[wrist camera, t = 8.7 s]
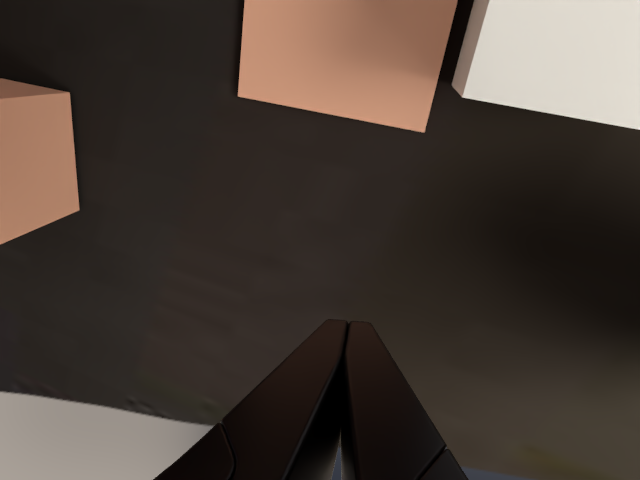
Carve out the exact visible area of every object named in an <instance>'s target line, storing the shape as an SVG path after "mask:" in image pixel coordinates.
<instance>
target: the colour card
mask: <svg viewBox="0 0 640 480" xmlns="http://www.w3.org/2000/svg"><path fill="white" fill-rule="evenodd" d="M457 1H458V0H245V3H244V17H243V31H242V45H241V59H240V72H239V86H238V97H243V98H248V99H254V100H259V101H264V102H269V103H274V104H279V105H284V106H290V107H295V108H300V109H305V110H310V111H315V112H320V113H326V114H331V115H336V116H341V117H346V118H351V119H356V120H362V121H367V122H372V123H377V124H382V125H387V126H392V127H398V128H403V129H408V130H413V131H418V132H423V133H424V132H425V129H426V125H427V121H428V117H429V113H430V109H431V105H432V101H433V97H434V93H435V89H436V85H437V81H438V77H439V73H440V69H441V65H442V61H443V57H444V53H445V49H446V45H447V41H448V37H449V33H450V29H451V25H452V21H453V17H454V13H455V9H456V5H457Z"/></svg>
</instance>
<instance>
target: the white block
mask: <svg viewBox="0 0 640 480" xmlns="http://www.w3.org/2000/svg"><path fill="white" fill-rule="evenodd" d="M452 86H453V88H454V89H455V90H456V91H457V92H458V93H459V94H460V95H461V97H463V98H468V99H474V100H479V101H485V102H490V103H496V104H501V105H506V106H512V107H517V108H523V109H528V110H534V111H539V112H545V113H550V114H556V115H561V116H567V117H572V118H578V119H583V120H589V121H594V122H600V123H605V124H611V125H616V126H622V127H627V128H633V129H638V130H640V0H474V2H473V6H472V10H471V14H470V17H469V21H468V25H467V29H466V32H465V36H464V40H463V44H462V47H461V51H460V55H459V59H458V62H457V66H456V70H455V74H454V77H453V81H452Z"/></svg>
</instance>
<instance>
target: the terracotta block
mask: <svg viewBox="0 0 640 480" xmlns="http://www.w3.org/2000/svg"><path fill="white" fill-rule="evenodd" d="M76 211H79V198H78V186H77V174H76V162H75V150H74V138H73V126H72V114H71V102H70V92H65V91H60V90H55V89H50V88H46V87H41V86H36V85H31V84H26V83H21V82H16V81H11V80H7V79H2V78H0V244H3V243H5V242H7V241H10V240H12V239H14V238H16V237H19V236H21V235H23V234H26V233H28V232H30V231H33V230H35V229H37V228H39V227H42V226H44V225H46V224H49V223H51V222H53V221H56V220H58V219H60V218H63V217H65V216H67V215H69V214H72V213H74V212H76Z"/></svg>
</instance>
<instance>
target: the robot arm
mask: <svg viewBox="0 0 640 480" xmlns="http://www.w3.org/2000/svg"><path fill="white" fill-rule="evenodd" d="M340 433H341V472H342V480H468V478H467V477H466V475H465V474H464V472H463V471H462V469H461V467H460V466H459V464H458V462H457V461H456V459H455V458H454V456H453V454H452V453H451V451H450V450H449V449H447V445H446V443H445V442H444V440H443V439H442V437H441V435H440V434H439V432H438V431H437V429H436V427H435V426H434V424H433V422H432V421H431V419H430V418H429V416H428V414H427V413H426V411H425V410H424V408H423V406H422V405H421V403H420V401H419V400H418V398H417V397H416V395H415V393H414V392H413V390H412V389H411V387H410V385H409V384H408V382H407V381H406V379H405V377H404V376H403V374H402V372H401V371H400V369H399V368H398V366H397V364H396V363H395V361H394V360H393V358H392V356H391V355H390V353H389V351H388V350H387V348H386V347H385V345H384V343H383V342H382V340H381V339H380V337H379V335H378V334H377V332H376V331H375V329H374V327H373V326H372V324H371V323H369V322H359V321H351V322H350V323H349V324H348V322H347V321H345V320H334V319H328V320H326V321H325V322H324V323H323V324H322V325H321V326H320V327H319V328H318V329H317V330H315V331H314V332H313V333H312V334H311V335H310V336H309V337H308V338H307V339H306V340H305V341H304V342H303V343H302V344H301V345H300V346H299V347H298V348H296V349H295V350H294V351H293V352H292V353H291V354H290V355H289V356H288V357H287V358H286V359H285V360H284V361H283V362H282V363H281V364H280V365H279V366H278V367H276V368H275V369H274V370H273V371H272V372H271V373H270V374H269V375H268V376H267V377H266V378H265V379H264V380H263V381H262V382H261V383H260V384H259V385H257V386H256V387H255V388H254V389H253V390H252V391H251V392H250V393H249V394H248V395H247V396H246V397H245V398H244V399H243V400H242V401H241V402H240V403H239V404H237V405H236V406H235V407H234V408H233V409H232V410H231V411H230V412H229V413H228V414H227V415H226V416H225V417H224V418H223V419H222V420H221V423H217V424H216V425H215V426H214V427H213V428H212V429H211V430H210V431H209V432H208V433H207V434H206V435H205V436H203V437H202V438H201V439H200V440H199V441H198V442H197V443H196V444H195V445H193V446H192V447H191V448H190V449H189V450H188V451H187V452H186V453H185V454H183V455H182V456H181V457H180V458H179V459H178V460H177V461H175V462H174V463H173V464H172V465H171V466H170V467H168V468H167V469H166V470H164V471H163V472H162V473H161V474H159V475H158V476H157V477H156V478H155V479H153V480H331V478H332V474H333V469H334V465H335V460H336V455H337V451H338V446H339V441H340Z"/></svg>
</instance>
